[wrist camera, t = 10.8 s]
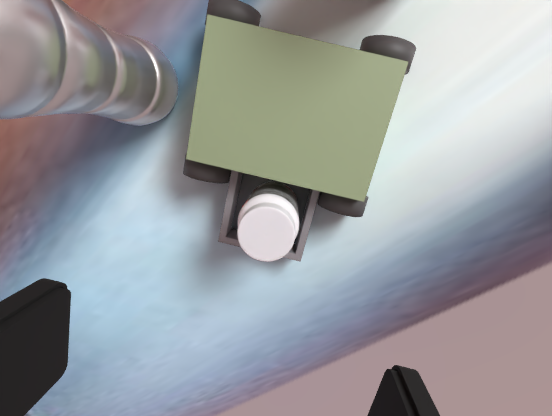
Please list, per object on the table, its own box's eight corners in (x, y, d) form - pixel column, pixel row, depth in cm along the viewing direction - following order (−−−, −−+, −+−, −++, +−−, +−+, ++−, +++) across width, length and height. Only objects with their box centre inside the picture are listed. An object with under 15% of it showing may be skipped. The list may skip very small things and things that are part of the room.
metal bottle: (200, 77, 26) (-95, -94, 6) (162, 141, 27) (-166, 161, 8) (137, 30, 25) (-400, -318, 6) (102, 98, 27) (-410, 6, 7)
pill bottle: (245, 183, 28) (226, 203, 20) (295, 178, 27) (296, 197, 19) (251, 230, 29) (235, 268, 21) (300, 226, 28) (302, 264, 20)
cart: (404, 58, 24) (431, 39, 19) (341, 260, 29) (349, 286, 24) (216, 13, 24) (196, -16, 20) (184, 222, 29) (161, 240, 24)
